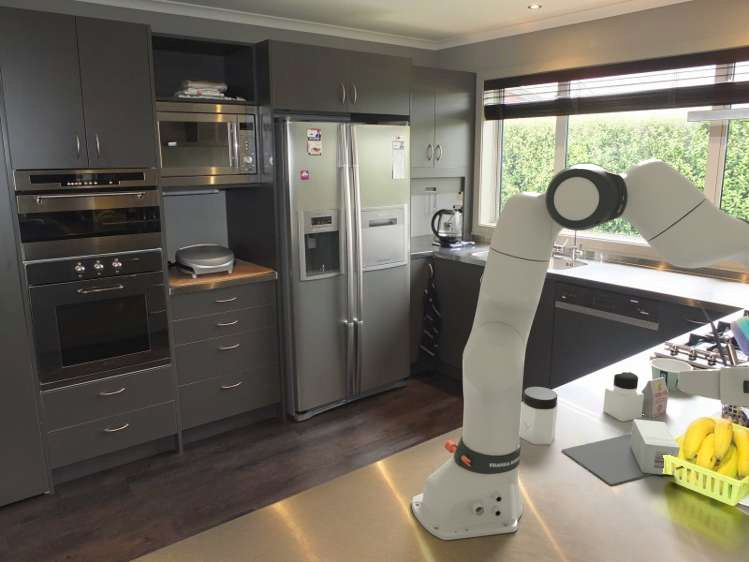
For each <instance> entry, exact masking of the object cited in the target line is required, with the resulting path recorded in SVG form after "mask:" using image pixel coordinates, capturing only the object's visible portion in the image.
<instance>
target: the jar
mask: <svg viewBox="0 0 749 562" xmlns="http://www.w3.org/2000/svg"><path fill="white" fill-rule="evenodd" d="M522 400H523V401H522V402H521V419H520V433H519V438H521V439H522V440H524V441H526V442H528V443H530V444H532V445H551V444H552V443H553V440H554V439H555V436H556V429H557V427H556V426H557V417H558V416H557V415H558V394H557V392H556V391H555V390H553V389H550V388H548V387H543V386H530V387H527V388H525V389H524V390H523V393H522Z"/></svg>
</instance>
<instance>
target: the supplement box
mask: <svg viewBox="0 0 749 562" xmlns="http://www.w3.org/2000/svg"><path fill="white" fill-rule="evenodd" d="M631 427H632V428H631V433H630V434H631V441H630V447H631V449H632V451H633V453H634V455H635V458H636V460H637V462H638V464H639V466H640V469H641V471H642V472H644V473H652V474H653V475H662V476H664V475H663V473H662V472H663V468H664V458H663V455H671V456H674V457H678V458H679V455H680V449H681V447H680V445H679V444H678V441H676V439H675V437H674V435H673V434H672V432H671V430H670V429H669V428H668V426H667V424H666V423H665V421H656V420H645V419H639V418H638V419H633V420H632V426H631Z"/></svg>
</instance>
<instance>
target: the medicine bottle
mask: <svg viewBox="0 0 749 562" xmlns="http://www.w3.org/2000/svg"><path fill="white" fill-rule="evenodd" d="M613 375H614V376H613V384H612V386H608V387H605V389H604V390H605V391H604V398H603V409H602V410H603V411H602V412H604V413H605V412H606V413H605V414H607V413H608V414H607V415H609V414H610V415H609V416H611V417H612V416H613V417H612V418H614V419H616V420H617V421H619V420H620V422H621V421H622V422H628V421H633V420H632V419H637V418H638V419H641V418H642V415H643V414H642V408H643V400H644V394H643V393H641V392H642V391H639V390H638V385H639V377H638V375H637V374H635V373H633V372H631V371H624V370H623V371H617V372H615V373H614V374H613ZM627 420H628V421H627ZM622 422H621V423H622Z"/></svg>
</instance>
